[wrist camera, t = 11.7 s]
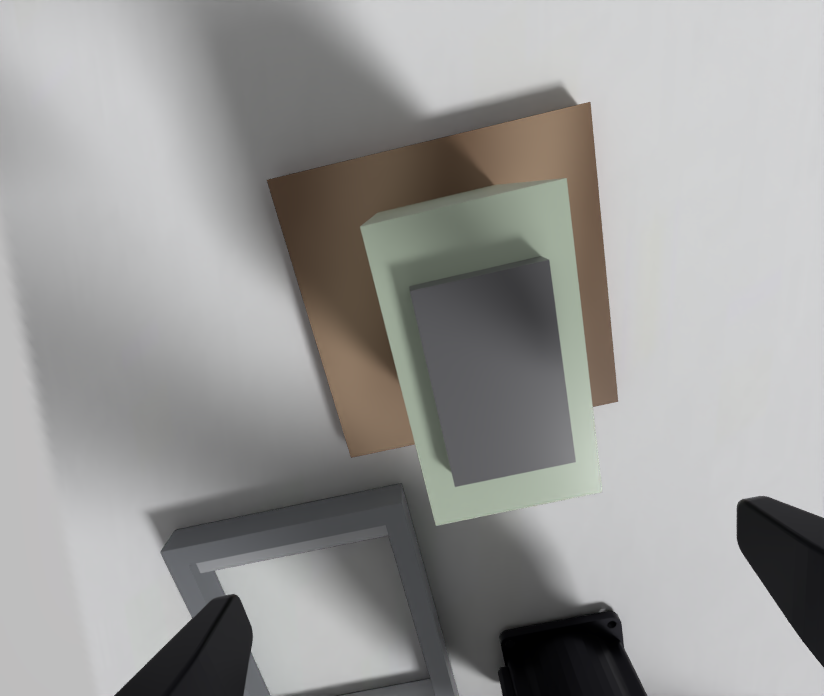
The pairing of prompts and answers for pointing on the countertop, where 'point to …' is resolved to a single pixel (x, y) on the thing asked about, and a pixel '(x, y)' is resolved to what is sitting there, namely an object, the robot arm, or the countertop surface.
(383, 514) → the grey flat frame
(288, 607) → the countertop surface
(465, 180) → the pad
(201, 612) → the robot arm
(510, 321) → the module
